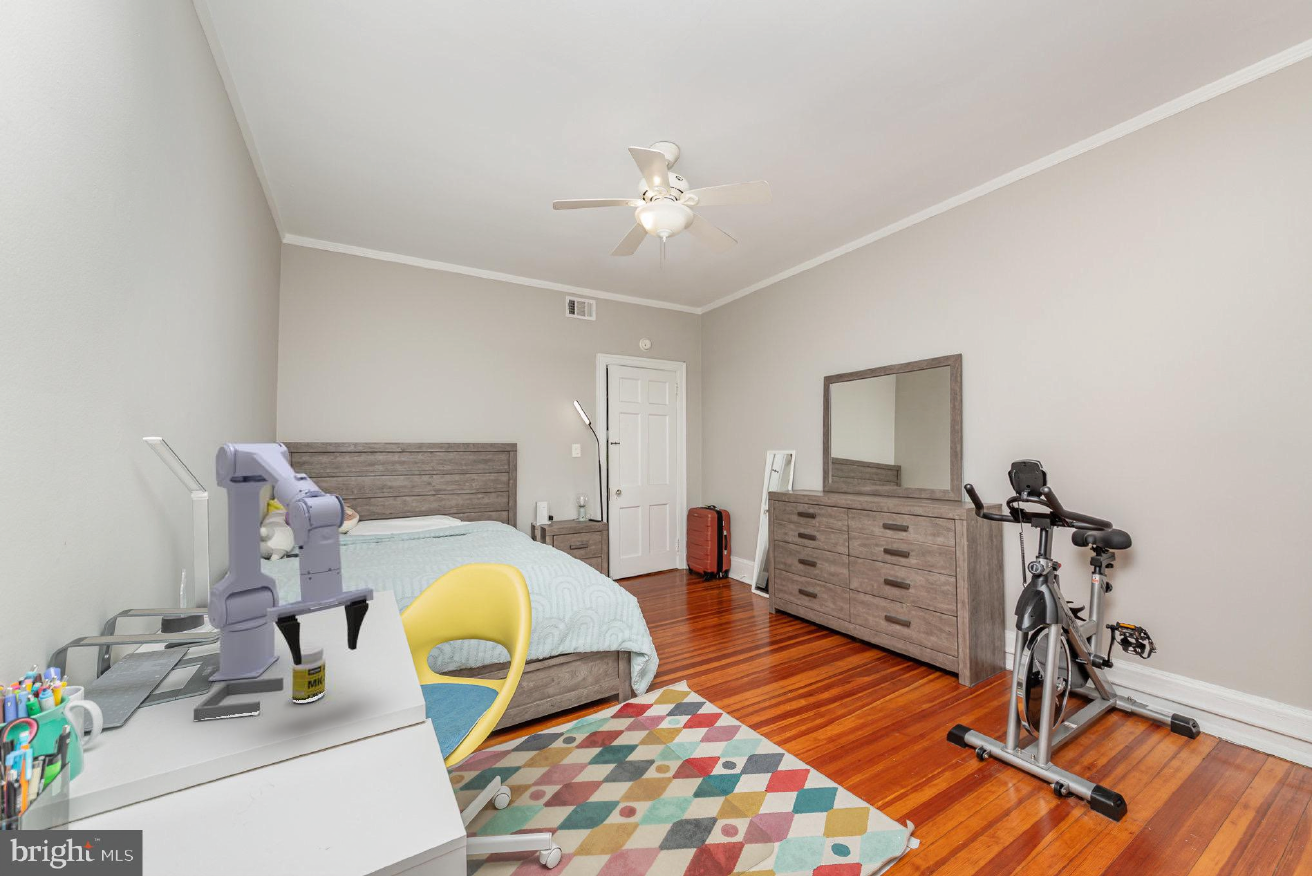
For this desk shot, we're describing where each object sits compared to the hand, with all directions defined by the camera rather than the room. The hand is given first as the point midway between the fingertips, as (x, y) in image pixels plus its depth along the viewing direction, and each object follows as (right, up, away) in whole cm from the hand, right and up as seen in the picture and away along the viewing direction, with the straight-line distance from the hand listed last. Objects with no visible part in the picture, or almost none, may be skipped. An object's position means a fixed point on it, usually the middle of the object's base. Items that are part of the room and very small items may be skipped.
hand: (325, 655), depth 85 cm
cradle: (-17, -10, +4) cm, 20 cm away
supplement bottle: (-7, -10, +7) cm, 14 cm away
